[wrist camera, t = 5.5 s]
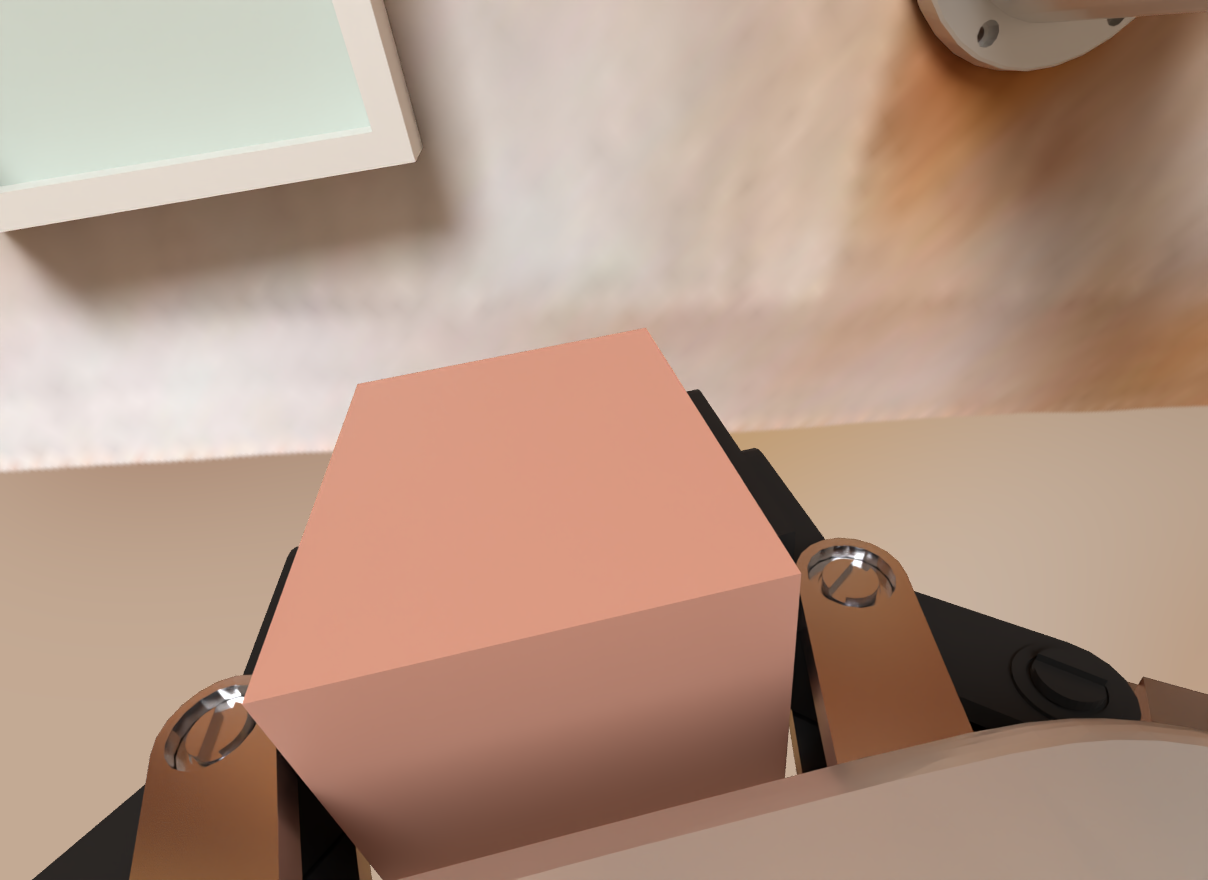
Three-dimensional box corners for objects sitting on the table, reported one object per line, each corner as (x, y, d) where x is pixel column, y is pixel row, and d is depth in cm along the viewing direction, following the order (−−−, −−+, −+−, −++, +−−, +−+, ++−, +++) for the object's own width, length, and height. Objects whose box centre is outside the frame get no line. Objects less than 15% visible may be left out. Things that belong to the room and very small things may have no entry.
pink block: (645, 327, 10) (801, 573, 5) (665, 537, 13) (780, 826, 8) (357, 384, 10) (241, 704, 5) (440, 587, 13) (418, 924, 8)
